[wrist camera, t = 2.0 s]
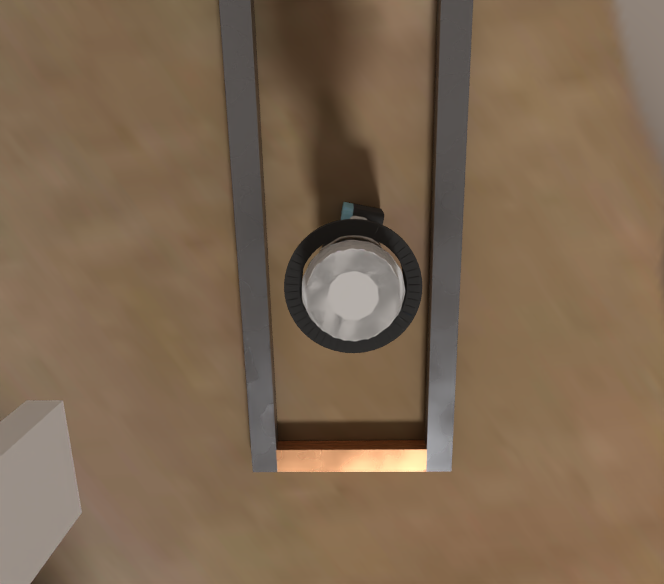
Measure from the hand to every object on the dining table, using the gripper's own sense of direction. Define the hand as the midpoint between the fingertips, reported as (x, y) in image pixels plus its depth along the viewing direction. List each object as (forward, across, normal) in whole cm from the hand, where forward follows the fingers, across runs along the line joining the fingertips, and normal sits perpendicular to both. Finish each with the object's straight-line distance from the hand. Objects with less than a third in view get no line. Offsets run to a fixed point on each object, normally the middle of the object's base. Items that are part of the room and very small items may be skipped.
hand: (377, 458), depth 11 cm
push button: (+19, -1, 0) cm, 19 cm away
